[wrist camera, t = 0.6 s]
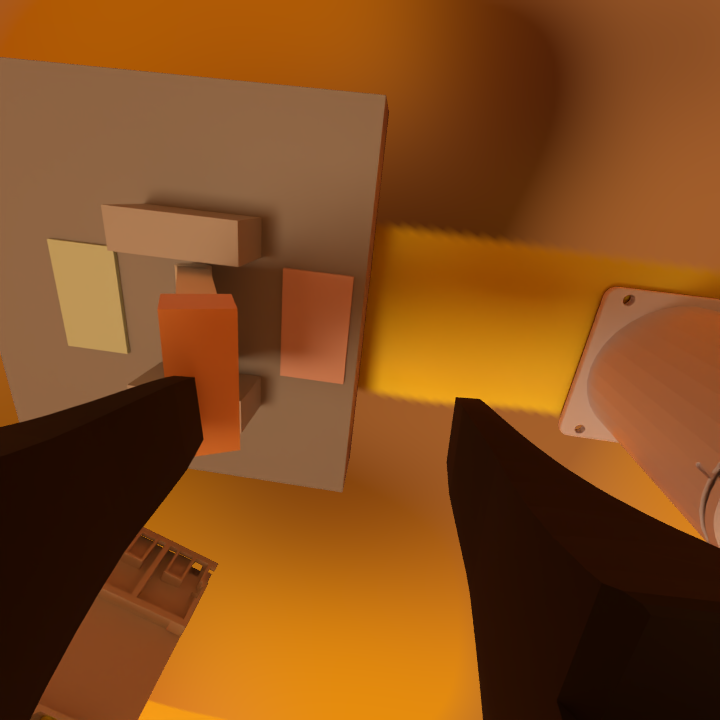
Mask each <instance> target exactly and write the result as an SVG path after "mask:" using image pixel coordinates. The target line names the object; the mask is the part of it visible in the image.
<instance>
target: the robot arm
mask: <svg viewBox="0 0 720 720" xmlns="http://www.w3.org/2000/svg"><path fill="white" fill-rule="evenodd" d="M627 295H630V296H631V299H630V300H629V302H627V303H626V304H623V299H624V298H625V297H626V296H627ZM578 425H582V427H581V428H579V429H575V427H576V426H578ZM558 428H559V429H560V431H561V432H562V433H563V434H565V435H569V436H576V437H583V438H590V439H597V440H604V441H611V442H618V443H620V444H621V445H622V446H623V448H624V449H625V450H626V451H627V452H628V453H629V454H630V455H631V457H632V458H633V459H634V460H635V461H636V462H637V464H638V465H639V466H640V467H641V468H642V469H643V470H644V471H645V472H646V474H647V475H648V476H649V477H650V478H651V479H652V480H653V481H654V483H655V484H656V485H657V486H658V487H659V488H660V489H661V491H662V492H663V493H664V494H665V495H666V496H667V497H668V499H670V501H671V502H672V503H673V504H674V505H675V507H676V508H677V509H678V510H679V511H680V512H681V513H682V514H683V516H684V517H685V518H686V519H687V520H688V521H689V522H690V523H691V524H692V526H693V527H694V528H695V529H696V530H697V531H698V533H699V534H700V535H701V536H702V537H703V538H704V539H705V540H706V542H705V541H703V540H700V539H698V538H695V537H694V536H691V535H689V534H687V533H684V532H682V531H680V530H678V529H676V528H674V527H671V526H669V525H667V524H665V523H663V522H661V521H659V520H657V519H655V518H653V517H651V516H649V515H647V514H645V513H643V512H641V511H639V510H637V509H635V508H633V507H631V506H629V505H628V504H626V503H624V502H622V501H620V500H618V499H616V498H614V497H613V496H611V495H609V494H607V493H606V492H604V491H602V490H600V489H598V488H597V487H595V486H594V485H592V484H590V483H589V482H587V481H586V480H584V479H582V478H581V477H579V476H578V475H576V474H574V473H573V472H571V471H570V470H568V469H567V468H565V467H564V466H562V465H561V464H559V463H558V462H557V461H555V460H554V459H552V458H551V457H550V456H548V455H547V454H546V453H544V452H543V451H542V450H540V449H539V448H538V447H536V446H535V445H534V444H532V443H531V442H530V441H529V440H527V439H526V438H525V437H523V436H522V435H521V434H520V433H519V432H518V431H516V430H515V429H514V428H513V427H512V426H511V425H509V424H508V423H507V422H506V421H505V420H504V419H502V418H501V417H500V416H499V415H498V414H497V413H496V412H495V411H493V410H492V409H491V408H490V407H489V406H488V405H486V404H485V403H484V402H483V401H481V400H480V399H472V398H458V397H456V400H455V407H454V414H453V421H452V429H451V435H450V442H449V449H448V456H447V472H448V485H449V495H450V500H451V505H452V509H453V514H454V519H455V524H456V528H457V532H458V537H459V542H460V546H461V551H462V556H463V560H464V564H465V569H466V573H467V580H468V585H469V591H470V598H471V606H472V615H473V625H474V633H475V642H476V651H477V662H478V671H479V681H480V691H481V702H482V713H483V720H720V299H715V298H707V297H699V296H691V295H682V294H674V293H666V292H658V291H650V290H641V289H633V288H625V287H612V288H610V289H608V290H607V291H606V292H605V294H604V295H603V298H602V301H601V304H600V306H599V309H598V312H597V315H596V318H595V321H594V323H593V326H592V329H591V332H590V335H589V338H588V340H587V343H586V346H585V349H584V352H583V355H582V357H581V360H580V363H579V366H578V369H577V372H576V374H575V377H574V380H573V383H572V386H571V388H570V391H569V394H568V397H567V400H566V403H565V405H564V408H563V411H562V414H561V417H560V420H559V422H558ZM203 440H204V438H203V431H202V424H201V417H200V410H199V403H198V396H197V389H196V382H195V377H185V376H170V377H165V378H161V379H157V380H154V381H150V382H147V383H144V384H141V385H138V386H135V387H132V388H129V389H126V390H123V391H120V392H117V393H114V394H111V395H108V396H105V397H102V398H100V399H97V400H94V401H90V402H87V403H84V404H81V405H78V406H75V407H71V408H68V409H65V410H62V411H59V412H55V413H52V414H49V415H45V416H42V417H38V418H35V419H31V420H27V421H24V422H20V423H16V424H12V425H8V426H4V427H0V720H30V719H31V717H32V715H33V713H34V711H35V709H36V707H37V705H38V703H39V701H40V699H41V697H42V695H43V693H44V691H45V689H46V687H47V685H48V683H49V681H50V680H51V678H52V676H53V674H54V672H55V670H56V668H57V667H58V665H59V663H60V661H61V659H62V657H63V656H64V654H65V652H66V650H67V648H68V646H69V644H70V643H71V641H72V639H73V637H74V635H75V633H76V632H77V630H78V628H79V627H80V625H81V623H82V621H83V620H84V618H85V616H86V615H87V613H88V611H89V609H90V608H91V606H92V604H93V603H94V601H95V599H96V597H97V596H98V594H99V592H100V591H101V589H102V587H103V586H104V584H105V583H106V581H107V579H108V578H109V576H110V575H111V573H112V571H113V570H114V568H115V567H116V565H117V563H118V562H119V560H120V559H121V557H122V555H123V554H124V552H125V551H126V549H127V548H128V547H129V545H130V544H131V542H132V541H133V540H134V538H135V537H136V535H137V534H138V533H139V532H140V530H141V529H142V528H143V526H144V525H145V524H146V522H147V521H148V520H149V519H150V517H151V516H152V515H153V513H154V512H155V511H156V509H157V508H158V507H159V506H160V504H161V503H162V502H163V501H164V499H165V498H166V497H167V495H168V494H169V493H170V491H171V490H172V489H173V487H174V486H175V485H176V484H177V482H178V481H179V480H180V478H181V477H182V475H183V474H184V473H185V471H186V470H187V469H188V467H189V465H190V464H191V462H192V460H193V458H194V457H195V455H196V453H197V451H198V449H199V447H200V445H201V444H202V442H203Z"/></svg>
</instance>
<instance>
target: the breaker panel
mask: <svg viewBox="0 0 720 720" xmlns="http://www.w3.org/2000/svg"><path fill="white" fill-rule="evenodd" d="M388 116H389V110H388V104H387V99H386V95H378V94H369V93H359V92H348V91H338V90H328V89H318V88H308V87H298V86H288V85H278V84H267V83H257V82H246V81H237V80H227V79H216V78H206V77H196V76H186V75H176V74H166V73H156V72H146V71H135V70H126V69H116V68H115V69H114V68H105V67H95V66H85V65H74V64H65V63H55V62H45V61H34V60H24V59H13V58H4V57H0V354H1V357H2V361H3V365H4V368H5V372H6V375H7V379H8V383H9V386H10V390H11V393H12V397H13V400H14V404H15V408H16V411H17V414H18V419H19V422H24V421H27V420H31V419H35V418H38V417H42V416H45V415H49V414H52V413H55V412H59V411H62V410H65V409H68V408H71V407H75V406H78V405H81V404H84V403H87V402H90V401H94V400H97V399H100V398H102V397H105V396H108V395H111V394H114V393H117V392H120V391H123V390H126V389H129V388H132V387H135V386H138V385H141V384H144V383H147V382H150V381H154V380H157V379H161V378H164V369H163V359H162V349H161V339H160V330H159V320H158V310H157V309H158V304H159V298H160V294H176V279H175V266H174V265H175V264H179V263H202V264H208V265H210V266H212V278H213V282H214V285H215V288H216V292H217V294H232V297H233V299H234V302H235V304H236V306H237V312H238V363H239V414H240V450H237V451H230V452H223V453H216V454H209V455H202V456H196V457H194V458H193V460H192V462H191V464H190V465H189V467H188V468H191V469H197V470H203V471H210V472H216V473H222V474H229V475H235V476H241V477H248V478H254V479H261V480H267V481H273V482H281V483H287V484H293V485H299V486H305V487H312V488H318V489H325V490H331V491H338V492H342V491H343V487H344V481H345V477H346V473H347V467H348V463H349V458H350V450H351V441H352V431H353V423H354V414H355V406H356V397H357V388H358V379H359V371H360V362H361V353H362V344H363V335H364V327H365V318H366V309H367V300H368V291H369V283H370V274H371V265H372V256H373V247H374V239H375V230H376V221H377V212H378V203H379V194H380V185H381V177H382V168H383V160H384V150H385V142H386V133H387V124H388Z"/></svg>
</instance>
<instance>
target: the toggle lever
mask: <svg viewBox="0 0 720 720" xmlns="http://www.w3.org/2000/svg"><path fill="white" fill-rule="evenodd" d="M174 266H175V279H176V294H160V298H159V304H158V309H157V310H158V320H159V330H160V339H161V349H162V359H163V369H164V378H165V377H170V376H185V377H195V382H196V389H197V396H198V403H199V410H200V417H201V424H202V431H203V438H204V440H203V442H202V444H201V445H200V447H199V449H198V451H197V453H196V455H195V457H196V456H202V455H209V454H216V453H223V452H230V451H237V450H240V414H239V363H238V312H237V306H236V304H235V302H234V299H233V297H232V294H217V292H216V288H215V285H214V282H213V278H212V266H210V265H208V264H202V263H179V264H175V265H174Z"/></svg>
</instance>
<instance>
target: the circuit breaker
mask: <svg viewBox="0 0 720 720" xmlns="http://www.w3.org/2000/svg"><path fill="white" fill-rule="evenodd" d="M141 535H142V536H141ZM143 536H144V537H143ZM145 537H147V538H149V539H151V540H153V541H154V542H153V541H151V540H149V539H147V538H145ZM157 544H159V545H161V546H163V548H162V547H160V546H158V545H157ZM169 550H171V551H174V552H175V553H176V554H175V553H173V552H170V551H169ZM180 554H181V555H180ZM182 555H183V556H182ZM184 556H186V557H188V558H190V559H192V560H190V559H188V558H186V557H184ZM195 562H197V563H199V564H201V565H203V566H202V569H201V571H199V570H197V569H195V568H193V567H191V566H192V565H193V564H194V563H195ZM217 565H218V563H216V562H214V561H211V560H210V559H208V558H206V557H203V556H201V555H199V554H197V553H195V552H193V551H191V550H189V549H187V548H185V547H183V546H181V545H179V544H177V543H175V542H173V541H171V540H169V539H166V538H164V537H163V536H161V535H159V534H156V533H154V532H152V531H150V530H148V529H146V528H144V527H143V528H142V529H141V530H140V532H139V533H138V535H137V536H136V537H135V538H134V540H133V541H132V542H131V544H130V545H129V547H128V548H127V549H126V551H125V552H124V554H123V555H122V557H121V559H120V560H119V562H118V563H117V565H116V567H115V568H114V570H113V571H112V573H111V575H110V576H109V578H108V579H107V581H106V583H105V584H104V586H103V587H102V589H101V591H100V592H99V594H98V596H97V597H96V599H95V601H94V603H93V604H92V606H91V608H90V609H89V611H88V613H87V615H86V616H85V618H84V620H83V621H82V623H81V625H80V627H79V628H78V630H77V632H76V633H75V635H74V637H73V639H72V641H71V643H70V644H69V646H68V648H67V650H66V652H65V654H64V656H63V657H62V659H61V661H60V663H59V665H58V667H57V668H56V670H55V672H54V674H53V676H52V678H51V680H50V681H49V683H48V685H47V687H46V689H45V691H44V693H43V695H42V697H41V699H40V701H39V703H38V705H37V707H36V709H35V711H34V713H33V715H32V717H31V719H30V720H138V718H139V716H140V714H141V712H142V710H143V708H144V706H145V704H146V703H147V701H148V699H149V697H150V695H151V693H152V691H153V689H154V687H155V685H156V683H157V681H158V679H159V677H160V675H161V673H162V671H163V669H164V667H165V665H166V663H167V661H168V659H169V657H170V655H171V653H172V651H173V650H174V648H175V646H176V643H177V642H178V640H179V638H180V636H181V635H182V633H183V631H184V629H185V628H186V626H187V624H188V622H189V620H190V618H191V616H192V614H193V612H194V610H195V608H196V606H197V604H198V602H199V600H200V598H201V596H202V594H203V592H204V591H205V588H206V587H207V585H208V583H207V582H208V580H209V578H210V576H211V574H210V573H208V570H209V569H210V570H212V571H214V570H215V569H216V567H217Z"/></svg>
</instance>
